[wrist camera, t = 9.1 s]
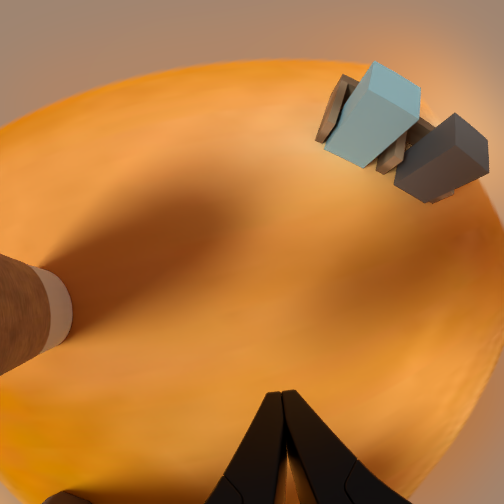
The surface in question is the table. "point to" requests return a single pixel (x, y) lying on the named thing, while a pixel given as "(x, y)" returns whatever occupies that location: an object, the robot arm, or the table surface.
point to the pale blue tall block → (374, 115)
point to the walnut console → (394, 150)
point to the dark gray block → (443, 160)
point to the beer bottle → (65, 499)
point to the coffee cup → (30, 312)
